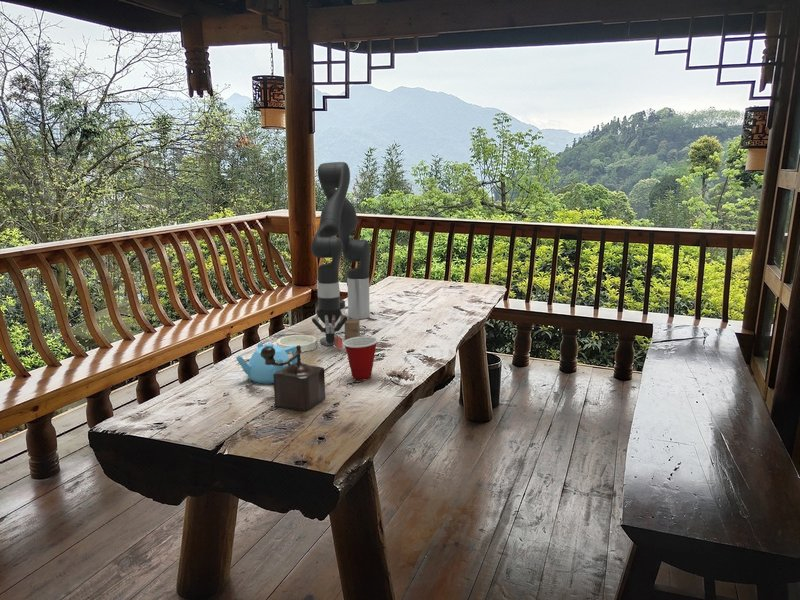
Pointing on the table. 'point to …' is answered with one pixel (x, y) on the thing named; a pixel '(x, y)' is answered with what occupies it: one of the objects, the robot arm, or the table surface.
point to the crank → (338, 342)
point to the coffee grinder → (296, 382)
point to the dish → (298, 342)
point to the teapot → (258, 367)
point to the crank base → (324, 342)
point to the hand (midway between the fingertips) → (330, 342)
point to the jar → (342, 308)
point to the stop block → (352, 328)
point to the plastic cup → (361, 356)
